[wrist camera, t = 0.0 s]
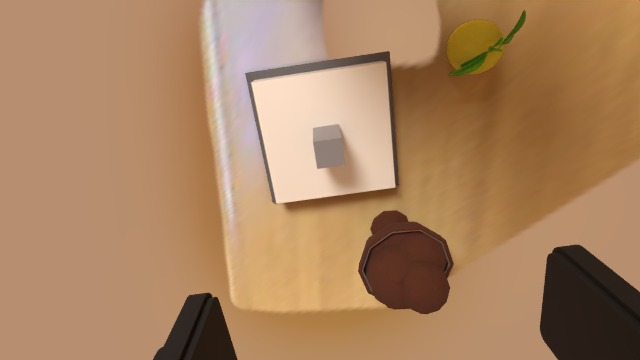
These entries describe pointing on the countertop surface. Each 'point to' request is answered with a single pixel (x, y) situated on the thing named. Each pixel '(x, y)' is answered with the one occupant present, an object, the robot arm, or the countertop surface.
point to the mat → (315, 67)
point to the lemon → (477, 46)
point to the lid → (327, 131)
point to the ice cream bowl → (406, 264)
